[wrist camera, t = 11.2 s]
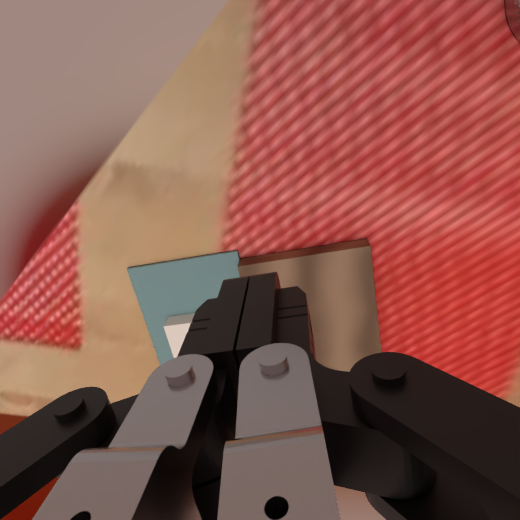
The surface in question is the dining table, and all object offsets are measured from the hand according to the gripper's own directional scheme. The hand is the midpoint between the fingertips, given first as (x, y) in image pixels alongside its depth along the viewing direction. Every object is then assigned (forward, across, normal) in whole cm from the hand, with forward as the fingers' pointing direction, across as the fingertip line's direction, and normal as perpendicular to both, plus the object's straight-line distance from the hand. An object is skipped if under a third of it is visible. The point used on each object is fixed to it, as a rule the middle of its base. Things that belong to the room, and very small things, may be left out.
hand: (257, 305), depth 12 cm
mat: (+29, +12, +18) cm, 36 cm away
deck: (+29, 0, +18) cm, 34 cm away
